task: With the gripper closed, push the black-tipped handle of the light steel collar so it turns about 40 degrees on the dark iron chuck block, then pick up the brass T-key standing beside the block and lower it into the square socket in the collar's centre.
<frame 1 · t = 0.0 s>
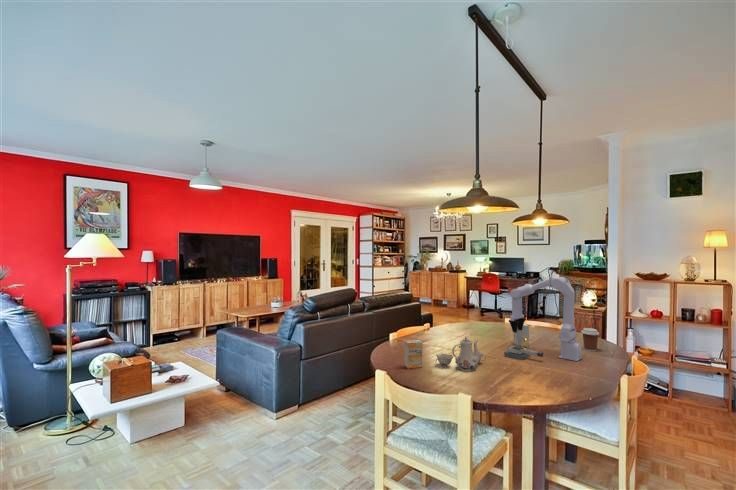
hand: (517, 331, 217), 10 cm above the table, tool pointing down, fingers open, 7 cm apart
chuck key: (525, 353, 205), on the table
collar: (526, 351, 196), point 4 cm above the table, hinge at 0.0°
supplement box: (413, 367, 184), on the table
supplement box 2: (521, 344, 225), on the table
coffee cup: (590, 350, 212), on the table
chuck block: (517, 356, 200), on the table
chinaware: (463, 367, 183), on the table
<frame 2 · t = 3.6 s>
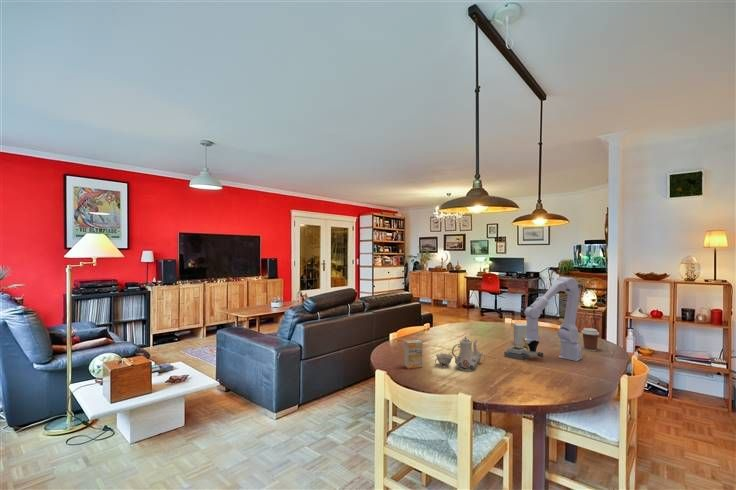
hand: (532, 354, 195), 2 cm above the table, tool pointing down, fingers closed, pressing on collar
collar: (526, 351, 196), point 4 cm above the table, hinge at 0.4°, touching gripper
everything else where it was.
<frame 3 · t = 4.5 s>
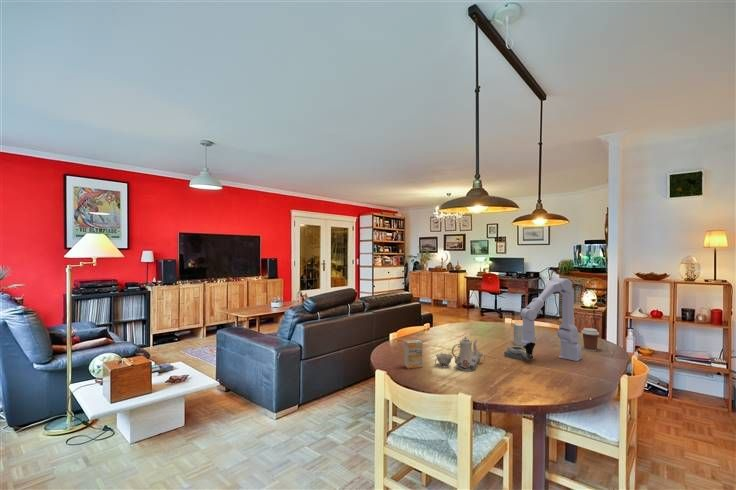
hand: (529, 356, 192), 2 cm above the table, tool pointing down, fingers closed, pressing on collar
collar: (521, 352, 195), point 4 cm above the table, hinge at 36.8°, touching gripper
everything else where it was.
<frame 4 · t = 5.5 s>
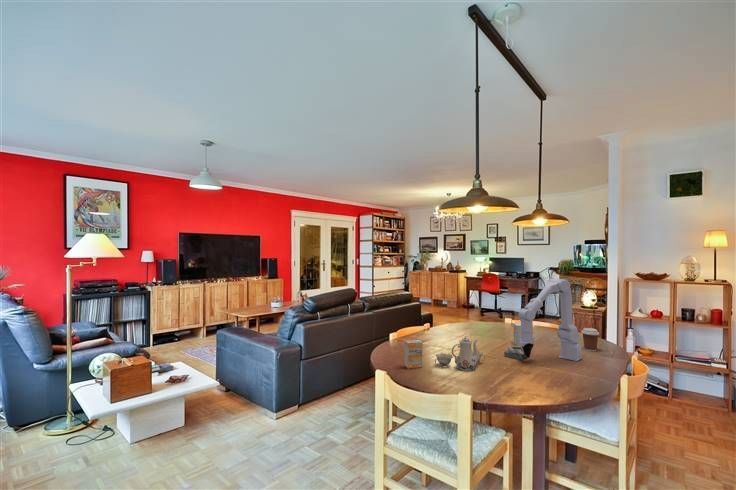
hand: (527, 357, 190), 2 cm above the table, tool pointing down, fingers closed
collar: (519, 352, 195), point 4 cm above the table, hinge at 50.7°, touching gripper
everything else where it was.
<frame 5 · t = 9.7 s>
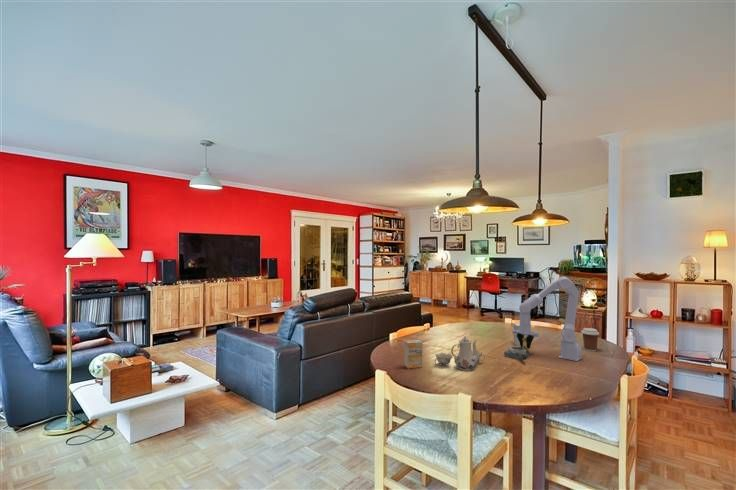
hand: (525, 347, 205), 3 cm above the table, tool pointing down, fingers closed on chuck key, 3 cm apart
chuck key: (525, 353, 205), on the table, touching gripper
collar: (519, 352, 195), point 4 cm above the table, hinge at 50.9°
everything else where it was.
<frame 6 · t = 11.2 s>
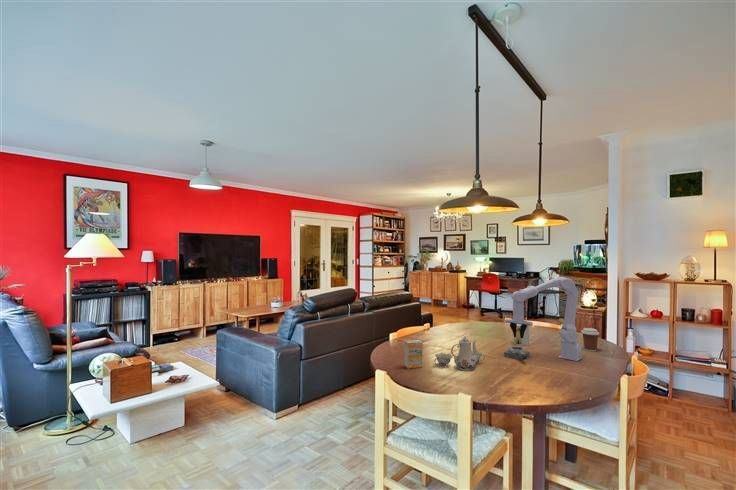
hand: (518, 337, 201), 10 cm above the table, tool pointing down, fingers closed on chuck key, 3 cm apart
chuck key: (518, 343, 201), point 7 cm above the table, touching gripper
everything else where it was.
when the fingers open (5 cm above the table, at t = 13.0 s): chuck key drops 1 cm, resting in chuck block.
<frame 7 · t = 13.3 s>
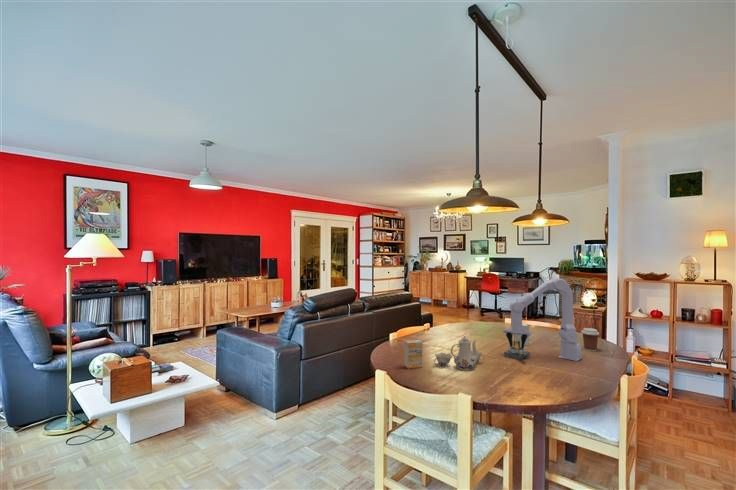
hand: (516, 347, 200), 5 cm above the table, tool pointing down, fingers open, 5 cm apart
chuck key: (517, 356, 200), resting in chuck block
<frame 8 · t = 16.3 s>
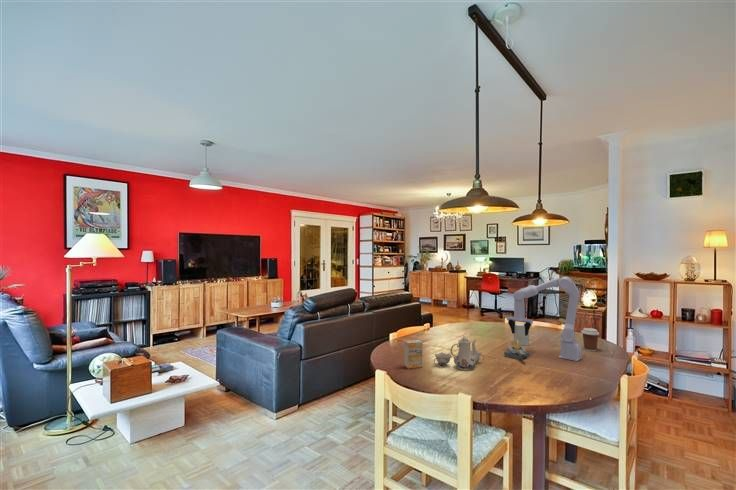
hand: (519, 334, 210), 10 cm above the table, tool pointing down, fingers open, 7 cm apart
at the end: collar at +51° (first picture: +0°); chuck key 0.0 cm off-centre on the chuck block, point 0.0 cm above the chuck block's base; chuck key tilted 0° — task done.
